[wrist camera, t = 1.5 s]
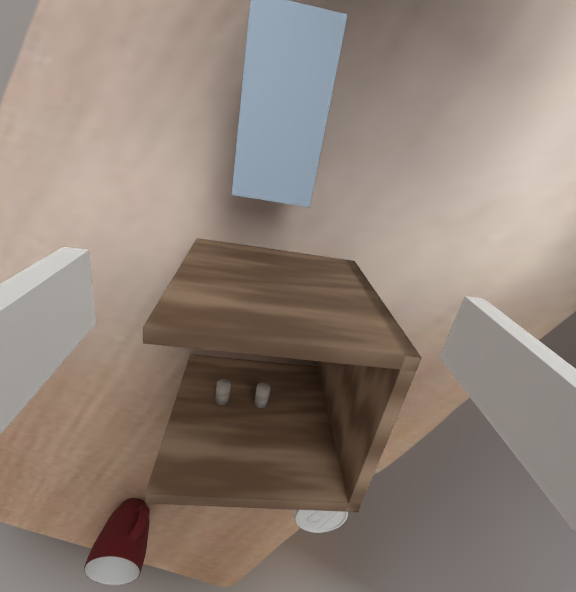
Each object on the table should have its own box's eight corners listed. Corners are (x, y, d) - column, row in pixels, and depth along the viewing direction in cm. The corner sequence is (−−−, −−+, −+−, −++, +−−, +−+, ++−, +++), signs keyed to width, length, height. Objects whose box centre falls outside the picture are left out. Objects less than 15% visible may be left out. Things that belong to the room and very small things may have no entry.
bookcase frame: (197, 238, 40) (142, 327, 22) (354, 261, 42) (421, 357, 24) (189, 361, 47) (145, 503, 29) (323, 374, 50) (357, 512, 32)
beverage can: (277, 421, 53) (282, 519, 40) (307, 397, 52) (323, 491, 38) (306, 440, 56) (320, 539, 42) (336, 418, 54) (360, 514, 40)
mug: (126, 476, 56) (100, 541, 48) (171, 490, 59) (155, 555, 50) (104, 511, 60) (76, 578, 51) (147, 523, 62) (128, 589, 53)
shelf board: (252, 2, 26) (251, -9, 24) (340, 24, 27) (347, 14, 25) (233, 190, 32) (231, 194, 30) (306, 202, 33) (309, 207, 31)
